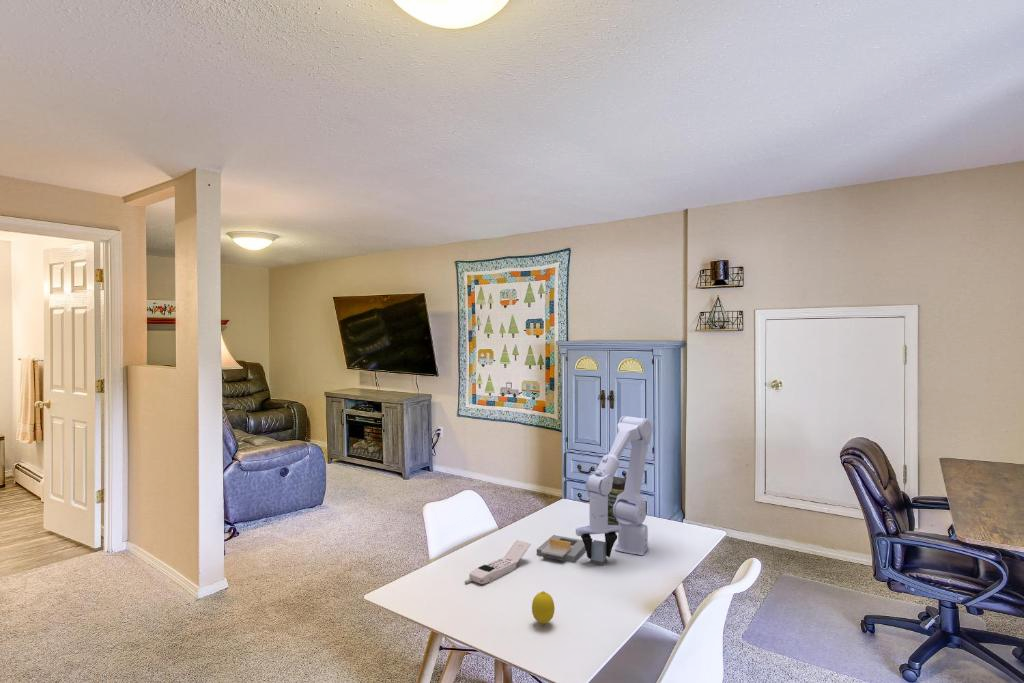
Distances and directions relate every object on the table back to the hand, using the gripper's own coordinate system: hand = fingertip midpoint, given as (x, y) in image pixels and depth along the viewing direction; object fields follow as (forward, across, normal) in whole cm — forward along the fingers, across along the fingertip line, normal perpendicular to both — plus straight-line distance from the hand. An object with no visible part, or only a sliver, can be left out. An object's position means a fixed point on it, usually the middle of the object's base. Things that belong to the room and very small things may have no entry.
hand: (598, 556), depth 167 cm
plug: (+2, 0, 0) cm, 2 cm away
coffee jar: (+2, -18, -30) cm, 35 cm away
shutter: (-1, +12, -6) cm, 13 cm away
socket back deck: (+2, +10, -8) cm, 13 cm away
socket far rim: (+2, +10, -16) cm, 19 cm away
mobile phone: (+2, +32, +1) cm, 32 cm away
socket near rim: (+2, +3, -10) cm, 10 cm away
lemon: (+2, +27, +32) cm, 42 cm away
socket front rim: (+2, +4, -16) cm, 16 cm away
